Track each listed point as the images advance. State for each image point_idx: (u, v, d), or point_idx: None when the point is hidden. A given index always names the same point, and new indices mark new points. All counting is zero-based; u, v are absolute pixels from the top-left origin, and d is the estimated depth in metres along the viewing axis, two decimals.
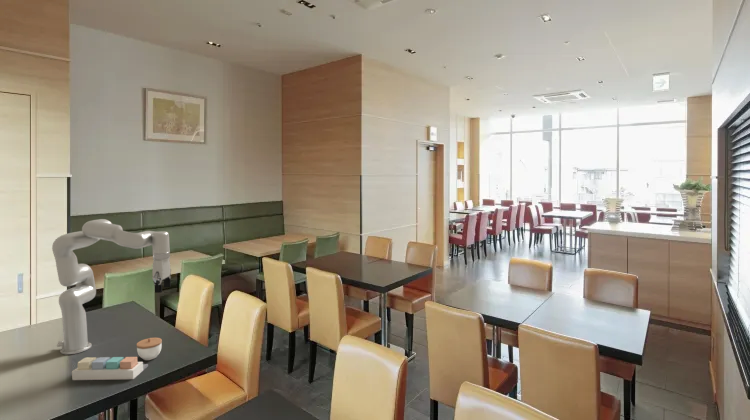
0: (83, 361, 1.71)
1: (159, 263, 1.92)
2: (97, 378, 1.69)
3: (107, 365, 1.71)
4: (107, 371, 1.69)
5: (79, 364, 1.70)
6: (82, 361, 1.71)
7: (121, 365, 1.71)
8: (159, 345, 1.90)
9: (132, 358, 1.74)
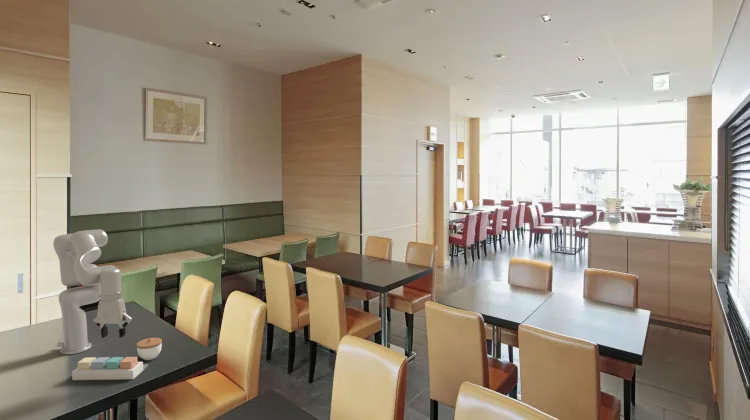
0: (83, 361, 1.71)
1: (123, 302, 1.72)
2: (97, 378, 1.69)
3: (107, 365, 1.71)
4: (107, 371, 1.69)
5: (79, 364, 1.70)
6: (82, 361, 1.71)
7: (121, 365, 1.71)
8: (159, 345, 1.90)
9: (132, 358, 1.74)
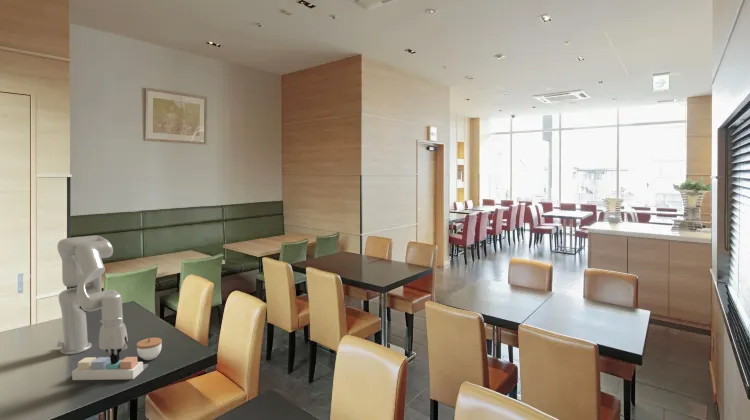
0: (83, 361, 1.71)
1: (125, 327, 1.73)
2: (97, 378, 1.69)
3: (107, 368, 1.71)
4: (107, 371, 1.69)
5: (79, 364, 1.70)
6: (82, 361, 1.71)
7: (121, 365, 1.71)
8: (159, 345, 1.90)
9: (132, 358, 1.74)
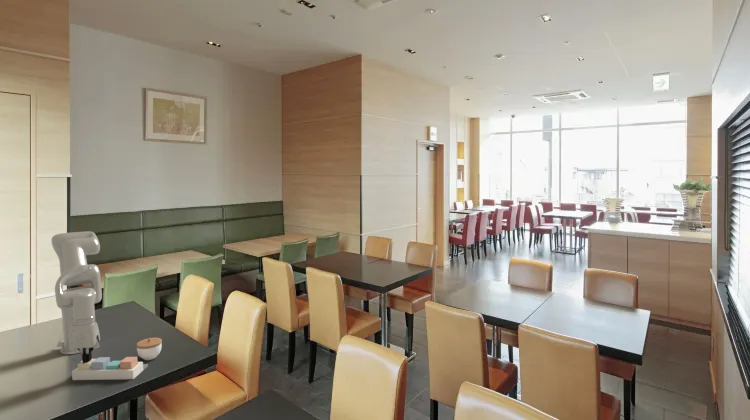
0: None
1: (97, 325, 1.72)
2: (97, 378, 1.69)
3: None
4: (107, 371, 1.69)
5: (79, 365, 1.70)
6: (82, 362, 1.71)
7: (121, 365, 1.71)
8: (159, 345, 1.90)
9: (132, 358, 1.74)
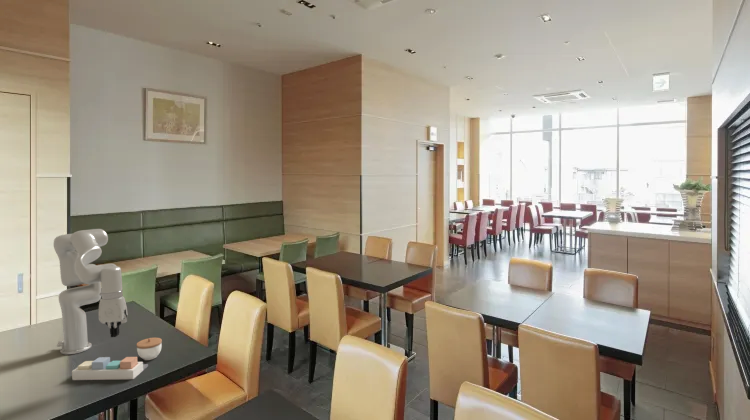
0: (84, 364, 1.71)
1: (124, 300, 1.71)
2: (97, 378, 1.69)
3: None
4: (107, 371, 1.69)
5: (79, 368, 1.70)
6: (82, 365, 1.71)
7: (121, 365, 1.71)
8: (159, 345, 1.90)
9: (132, 358, 1.74)
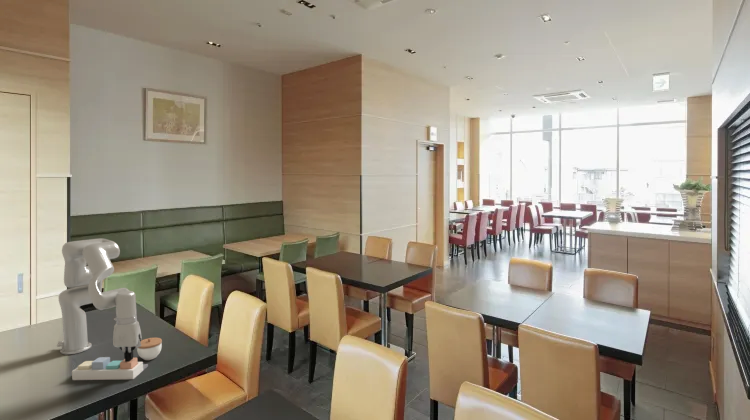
0: (84, 364, 1.71)
1: (138, 324, 1.73)
2: (97, 378, 1.69)
3: None
4: (107, 371, 1.69)
5: (79, 368, 1.70)
6: (82, 365, 1.71)
7: (121, 366, 1.71)
8: (159, 345, 1.90)
9: (132, 359, 1.74)
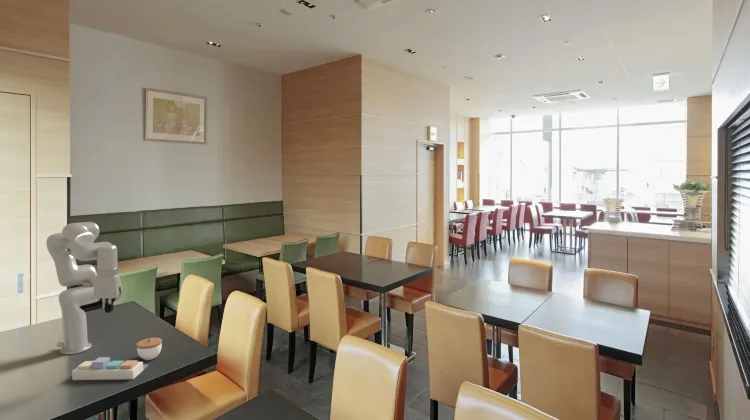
0: (84, 364, 1.71)
1: (119, 277, 1.77)
2: (97, 378, 1.69)
3: None
4: (107, 371, 1.69)
5: (79, 368, 1.70)
6: (82, 365, 1.71)
7: None
8: (159, 345, 1.90)
9: (132, 362, 1.74)
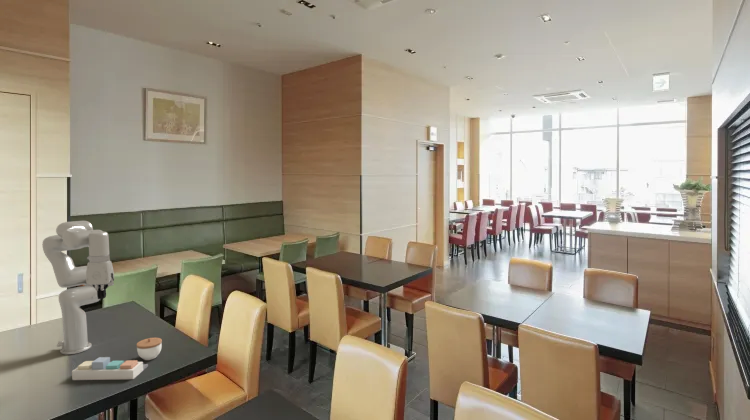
0: (84, 364, 1.71)
1: (111, 264, 1.79)
2: (97, 378, 1.69)
3: None
4: (107, 371, 1.69)
5: (79, 368, 1.70)
6: (82, 365, 1.71)
7: None
8: (159, 345, 1.90)
9: (132, 362, 1.74)
